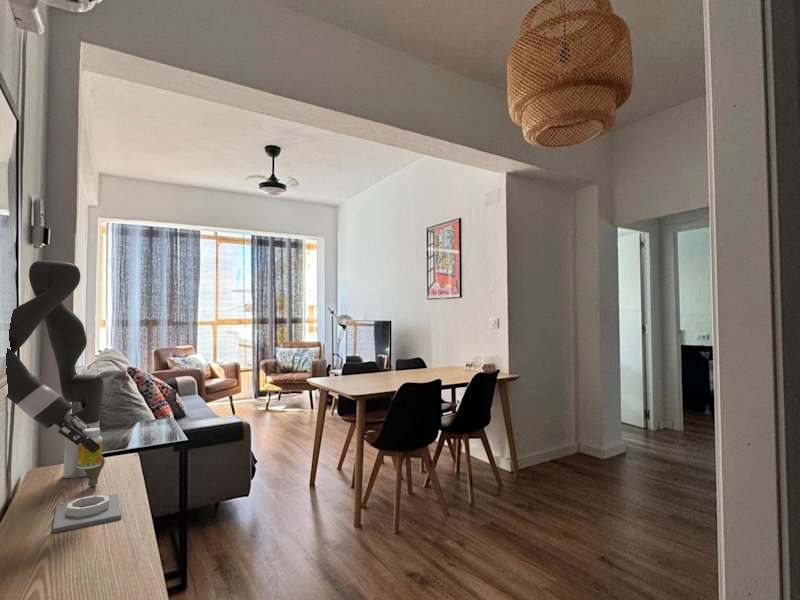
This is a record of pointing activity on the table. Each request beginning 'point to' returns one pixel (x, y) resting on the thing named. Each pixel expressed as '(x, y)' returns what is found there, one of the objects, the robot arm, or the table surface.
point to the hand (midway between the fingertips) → (98, 447)
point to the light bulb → (94, 473)
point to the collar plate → (86, 512)
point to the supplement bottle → (84, 455)
